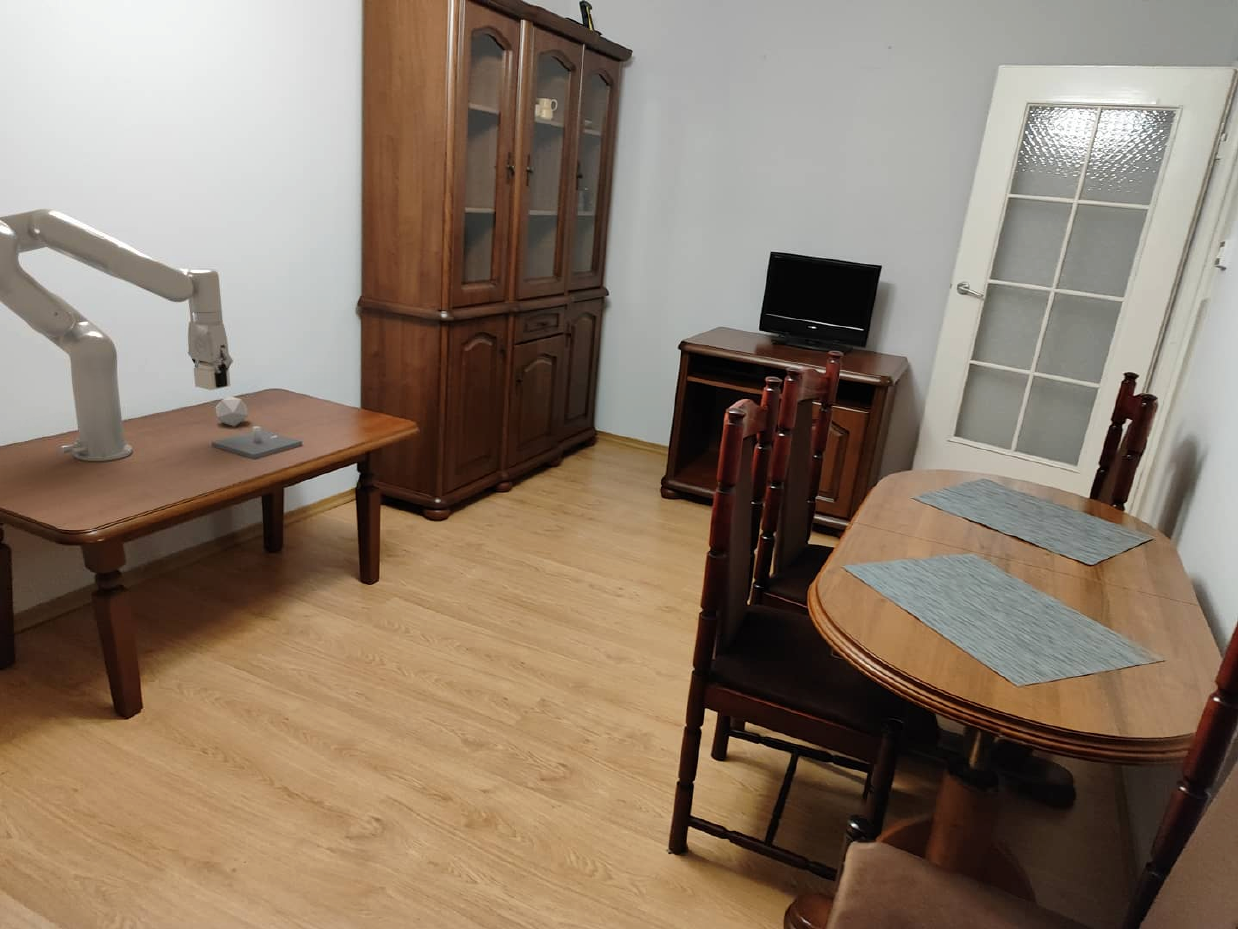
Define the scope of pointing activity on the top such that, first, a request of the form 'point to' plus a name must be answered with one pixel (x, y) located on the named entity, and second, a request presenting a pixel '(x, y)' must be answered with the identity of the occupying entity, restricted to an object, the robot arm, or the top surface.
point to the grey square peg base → (256, 443)
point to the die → (231, 411)
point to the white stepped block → (207, 376)
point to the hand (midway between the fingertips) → (212, 383)
